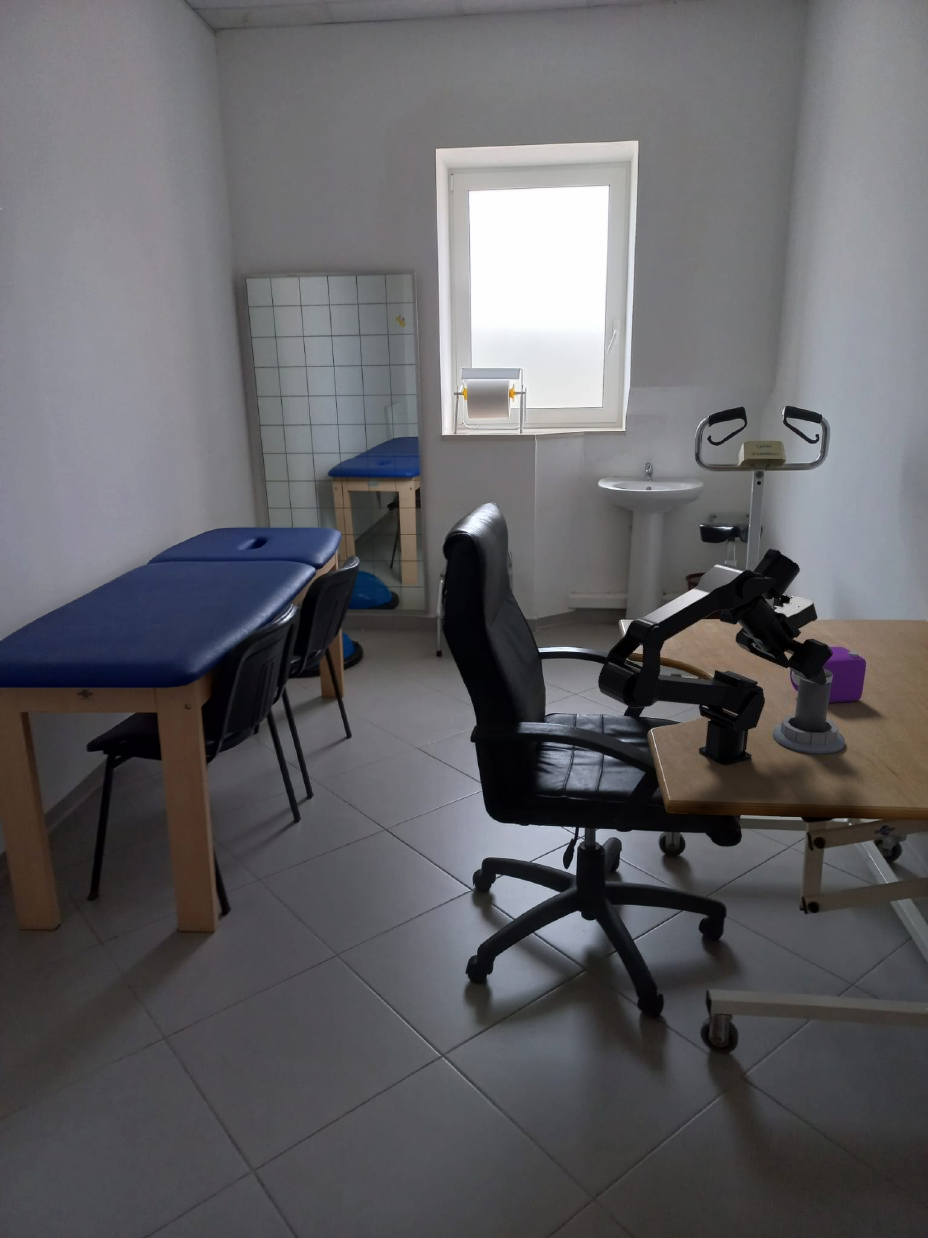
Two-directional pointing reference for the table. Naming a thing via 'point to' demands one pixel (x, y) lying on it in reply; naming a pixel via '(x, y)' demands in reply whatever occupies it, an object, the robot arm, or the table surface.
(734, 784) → the table surface
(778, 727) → the ring
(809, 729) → the grey domed cylinder
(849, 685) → the toy camera
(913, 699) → the table surface
